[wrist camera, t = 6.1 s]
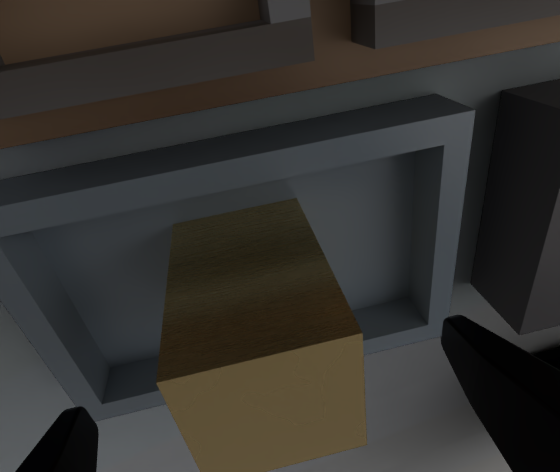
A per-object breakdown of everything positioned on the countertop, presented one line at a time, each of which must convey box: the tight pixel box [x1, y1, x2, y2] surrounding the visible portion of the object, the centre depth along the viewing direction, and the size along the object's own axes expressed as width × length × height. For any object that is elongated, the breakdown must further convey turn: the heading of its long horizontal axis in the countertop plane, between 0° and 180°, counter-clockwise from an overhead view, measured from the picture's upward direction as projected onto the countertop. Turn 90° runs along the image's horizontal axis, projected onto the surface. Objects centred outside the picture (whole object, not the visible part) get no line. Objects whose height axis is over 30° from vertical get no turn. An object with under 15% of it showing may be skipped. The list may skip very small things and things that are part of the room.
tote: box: [0, 94, 476, 422], centre depth 13 cm, size 9×14×2 cm, turn 99°
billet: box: [156, 198, 367, 472], centre depth 11 cm, size 4×4×6 cm
